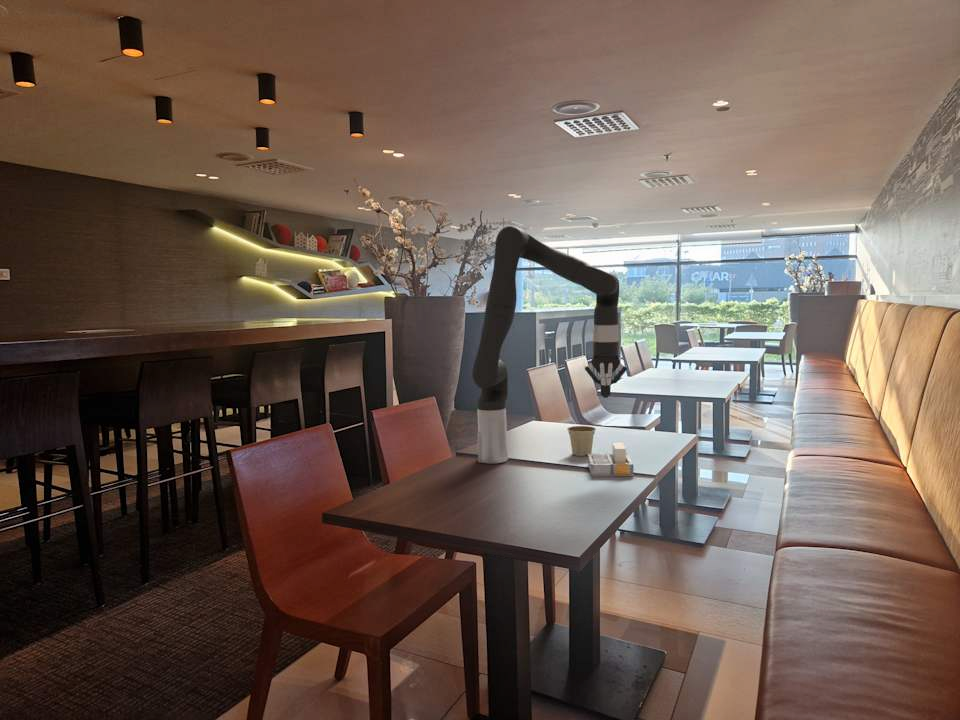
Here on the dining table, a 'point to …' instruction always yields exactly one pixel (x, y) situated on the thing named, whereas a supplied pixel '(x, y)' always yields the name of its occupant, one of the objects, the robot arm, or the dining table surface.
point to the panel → (618, 453)
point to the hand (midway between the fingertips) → (605, 397)
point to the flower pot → (581, 439)
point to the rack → (609, 466)
